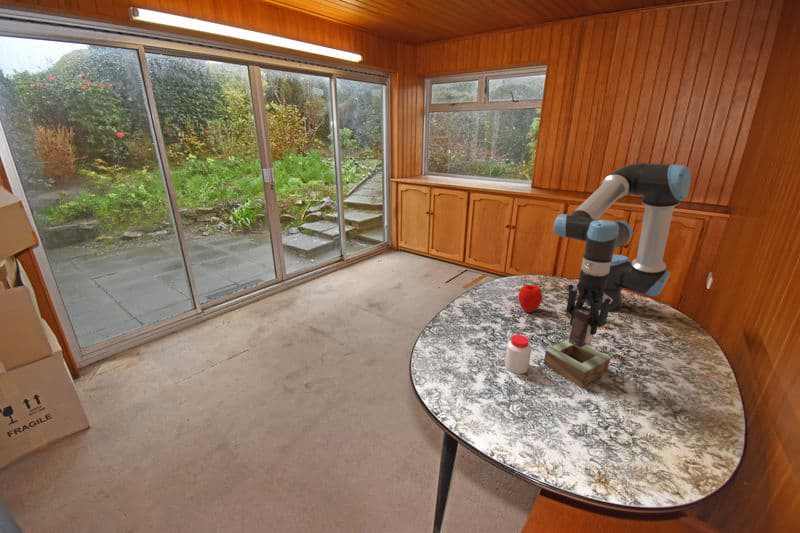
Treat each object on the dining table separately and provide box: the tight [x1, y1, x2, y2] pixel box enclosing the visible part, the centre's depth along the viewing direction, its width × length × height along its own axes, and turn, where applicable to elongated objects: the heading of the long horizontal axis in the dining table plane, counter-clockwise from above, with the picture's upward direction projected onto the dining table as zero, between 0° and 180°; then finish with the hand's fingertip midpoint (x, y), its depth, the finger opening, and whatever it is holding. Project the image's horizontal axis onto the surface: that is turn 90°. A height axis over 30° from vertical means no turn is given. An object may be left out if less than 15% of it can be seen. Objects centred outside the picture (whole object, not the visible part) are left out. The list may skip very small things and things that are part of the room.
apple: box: [517, 284, 543, 313], centre depth 154 cm, size 10×10×12 cm
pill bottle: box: [504, 334, 532, 375], centre depth 117 cm, size 8×8×11 cm
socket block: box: [543, 338, 611, 388], centre depth 117 cm, size 14×14×6 cm
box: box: [568, 305, 591, 348], centre depth 112 cm, size 6×4×12 cm
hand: (580, 338), depth 113 cm, fingers closed on box, 4 cm apart
